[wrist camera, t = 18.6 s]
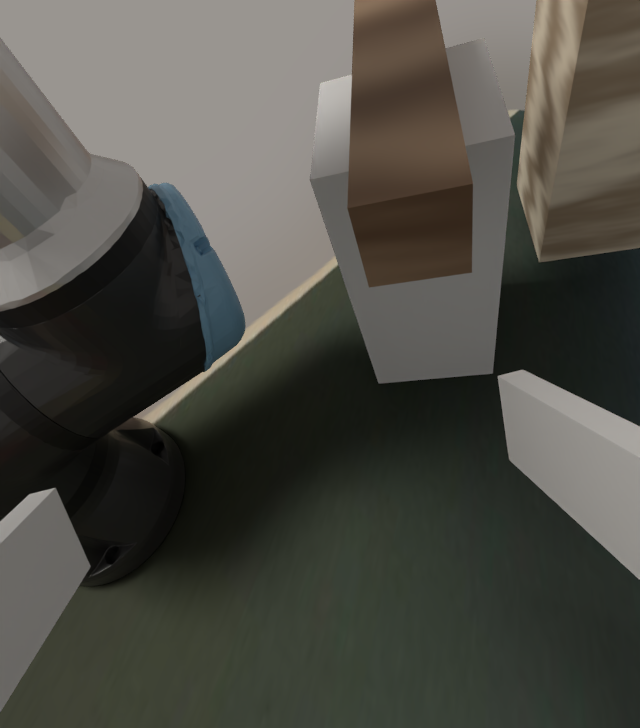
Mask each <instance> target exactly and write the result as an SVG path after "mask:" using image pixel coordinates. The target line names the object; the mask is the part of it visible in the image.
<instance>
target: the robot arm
mask: <svg viewBox="0 0 640 728" xmlns="http://www.w3.org/2000/svg"><path fill="white" fill-rule="evenodd" d="M244 331H245V318H244V313H243V310H242V307H241V305H240V302H239V300H238V297H237V295H236V292H235V290H234V288H233V286H232V284H231V281H230V279H229V277H228V275H227V273H226V271H225V269H224V267H223V265H222V263H221V261H220V260H219V258H218V256H217V254H216V252H215V251H214V250H213V248H212V247H211V246H210V243H209V240H208V238H207V237H206V235H205V233H204V231H203V229H202V226H201V225H200V223H199V221H198V219H197V218H196V216H195V215H194V213H193V211H192V210H191V208H190V206H189V205H188V203H187V202H186V200H185V199H184V197H183V196H182V195H181V193H180V192H179V191H178V190H177V189H176V188H175V187H174V186H173V185H171V184H169V183H162V184H160V185H158V184H153V185H150V186H149V187H147V186H146V185H145V183H144V182H143V180H142V179H141V177H140V176H139V174H138V173H137V172H136V171H135V169H134V168H133V167H132V166H130V165H129V164H127V163H125V162H122V161H118V160H113V159H110V158H105V157H101V156H97V155H93V154H90V153H89V152H88V151H87V150H86V149H85V148H84V146H83V145H82V144H81V142H80V141H79V140H78V139H77V137H76V136H75V135H74V133H73V132H72V131H71V129H70V128H69V127H68V125H67V124H66V123H65V122H64V120H63V119H62V118H61V116H60V115H59V114H58V112H57V111H56V110H55V108H54V107H53V106H52V105H51V103H50V102H49V101H48V99H47V98H46V97H45V95H44V94H43V93H42V92H41V90H40V89H39V88H38V86H37V85H36V84H35V82H34V81H33V80H32V78H31V77H30V76H29V75H28V73H27V72H26V71H25V69H24V68H23V67H22V65H21V64H20V63H19V61H18V60H17V59H16V58H15V56H14V55H13V54H12V52H11V51H10V50H9V48H8V47H7V46H6V45H5V43H4V42H3V41H2V39H1V38H0V712H1V710H2V708H3V707H4V705H5V704H6V702H7V700H8V699H9V697H10V696H11V694H12V692H13V691H14V689H15V688H16V686H17V684H18V683H19V681H20V680H21V678H22V676H23V675H24V673H25V672H26V670H27V668H28V667H29V665H30V663H31V662H32V660H33V659H34V657H35V655H36V654H37V652H38V651H39V649H40V647H41V646H42V644H43V643H44V641H45V639H46V638H47V636H48V635H49V633H50V631H51V630H52V628H53V627H54V625H55V623H56V622H57V620H58V618H59V617H60V615H61V614H62V612H63V610H64V609H65V607H66V606H67V604H68V602H69V601H70V599H71V598H72V596H73V594H74V593H75V591H76V590H77V588H78V586H79V585H81V586H98V585H103V584H107V583H110V582H113V581H115V580H118V579H120V578H122V577H124V576H126V575H127V574H129V573H130V572H132V571H133V570H135V569H136V568H137V567H139V566H140V565H141V564H142V563H143V562H145V561H146V560H147V559H148V558H149V557H150V556H151V555H152V554H153V553H154V551H155V550H156V549H157V548H158V547H159V545H160V544H161V543H162V541H163V540H164V539H165V537H166V536H167V534H168V532H169V531H170V529H171V527H172V525H173V523H174V521H175V519H176V517H177V514H178V512H179V509H180V506H181V503H182V499H183V494H184V488H185V467H184V461H183V458H182V454H181V452H180V450H179V448H178V446H177V444H176V443H175V442H174V440H173V439H172V438H171V437H170V436H169V435H167V434H166V433H165V432H163V431H162V430H161V429H159V428H158V427H156V426H155V425H153V424H152V423H150V422H147V421H145V420H142V419H139V418H134V417H133V416H135V415H137V414H138V413H140V412H141V411H143V410H144V409H146V408H147V407H149V406H151V405H152V404H154V403H155V402H157V401H158V400H160V399H161V398H163V397H164V396H166V395H167V394H169V393H171V392H172V391H174V390H175V389H177V388H178V387H180V386H181V385H183V384H184V383H186V382H188V381H189V380H191V379H192V378H194V377H195V376H197V375H198V374H200V373H201V372H205V371H207V370H208V369H209V368H210V367H211V365H212V363H214V362H215V361H216V360H217V359H219V358H220V357H221V356H223V355H224V354H225V353H227V352H228V351H229V350H231V349H232V348H233V347H235V346H236V345H237V344H238V343H239V341H240V340H241V338H242V336H243V334H244ZM498 383H499V390H500V398H501V405H502V412H503V420H504V427H505V434H506V441H507V449H508V456H509V460H510V461H511V462H512V463H513V464H514V465H515V466H516V467H517V468H519V469H520V470H521V471H522V472H523V473H524V474H525V475H526V476H527V477H528V478H529V479H531V480H532V481H533V482H534V483H535V484H536V485H537V486H538V487H539V488H540V489H541V490H542V491H544V492H545V493H546V494H547V495H548V496H549V497H550V498H551V499H552V500H553V501H554V502H556V503H557V504H558V505H559V506H560V507H561V508H562V509H563V510H564V511H565V512H566V513H567V514H569V515H570V516H571V517H572V518H573V519H574V520H575V521H576V522H577V523H578V524H579V525H581V526H582V527H583V528H584V529H585V530H586V531H587V532H588V533H589V534H590V535H591V536H592V537H594V538H595V539H596V540H597V541H598V542H599V543H600V544H601V545H602V546H603V547H604V548H606V549H607V550H608V551H609V552H610V553H611V554H612V555H613V556H614V557H615V558H616V559H617V560H619V561H620V562H621V563H622V564H623V565H624V566H625V567H626V568H627V569H628V570H629V571H631V572H632V573H633V574H634V575H635V576H636V577H637V578H638V579H639V580H640V426H638V425H636V424H634V423H632V422H630V421H628V420H625V419H623V418H621V417H619V416H617V415H615V414H613V413H611V412H609V411H607V410H605V409H603V408H601V407H599V406H597V405H595V404H593V403H591V402H588V401H586V400H584V399H582V398H580V397H578V396H576V395H574V394H572V393H570V392H568V391H566V390H564V389H562V388H560V387H558V386H556V385H554V384H552V383H549V382H547V381H545V380H543V379H541V378H539V377H537V376H535V375H533V374H531V373H529V372H527V371H525V370H519V371H515V372H511V373H507V374H503V375H499V376H498Z"/></svg>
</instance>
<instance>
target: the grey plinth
mask: <svg viewBox="0 0 640 728" xmlns="http://www.w3.org/2000/svg"><path fill="white" fill-rule="evenodd" d="M446 54H447V59H448V64H449V69H450V74H451V79H452V84H453V88H454V93H455V98H456V103H457V108H458V113H459V118H460V123H461V127H462V132H463V137H464V142H465V147H466V152H467V157H468V161H469V166H470V171H471V176H472V181H473V228H472V273H466V274H459V275H452V276H445V277H438V278H432V279H425V280H418V281H411V282H404V283H397V284H390V285H383V286H377V287H370V288H369V286H368V282H367V278H366V275H365V271H364V267H363V264H362V260H361V256H360V253H359V249H358V245H357V242H356V238H355V235H354V231H353V227H352V224H351V220H350V216H349V213H348V209H347V203H348V174H349V146H350V117H351V88H352V75H348V76H344V77H341V78H337V79H334V80H330V81H326V82H323V83H320V91H319V100H318V109H317V118H316V128H315V137H314V147H313V155H312V165H311V174H310V182H311V185H312V188H313V191H314V194H315V197H316V199H317V202H318V205H319V208H320V211H321V214H322V217H323V220H324V223H325V226H326V229H327V232H328V235H329V238H330V241H331V244H332V247H333V250H334V253H335V256H336V259H337V262H338V265H339V268H340V271H341V274H342V277H343V280H344V283H345V286H346V289H347V291H348V294H349V297H350V300H351V303H352V306H353V309H354V312H355V315H356V318H357V321H358V324H359V327H360V330H361V333H362V336H363V339H364V342H365V345H366V348H367V351H368V354H369V357H370V360H371V363H372V366H373V369H374V372H375V375H376V378H377V380H378V383H379V384H380V383H392V382H403V381H414V380H426V379H437V378H449V377H460V376H471V375H483V374H493V365H494V355H495V344H496V333H497V322H498V312H499V301H500V290H501V279H502V269H503V258H504V247H505V236H506V226H507V215H508V204H509V193H510V183H511V172H512V161H513V150H514V140H515V134H514V130H513V127H512V124H511V121H510V118H509V115H508V112H507V108H506V105H505V102H504V99H503V96H502V93H501V89H500V86H499V83H498V80H497V77H496V74H495V70H494V67H493V64H492V61H491V58H490V55H489V52H488V49H487V45H486V42H485V39H484V38H482V39H478V40H475V41H471V42H467V43H464V44H460V45H456V46H453V47H449V48H446Z"/></svg>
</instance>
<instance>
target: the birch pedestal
mask: <svg viewBox="0 0 640 728" xmlns="http://www.w3.org/2000/svg"><path fill="white" fill-rule="evenodd" d="M517 188H518V191H519V195H520V198H521V202H522V205H523V209H524V212H525V216H526V219H527V223H528V226H529V229H530V233H531V236H532V240H533V243H534V247H535V250H536V254H537V257H538V260H539V263H540V262H547V261H553V260H560V259H567V258H574V257H581V256H588V255H594V254H601V253H608V252H615V251H622V250H629V249H635V248H640V0H537V1H536V11H535V20H534V29H533V39H532V48H531V57H530V67H529V76H528V85H527V95H526V105H525V113H524V123H523V132H522V141H521V151H520V160H519V169H518V179H517Z"/></svg>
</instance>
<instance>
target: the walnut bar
mask: <svg viewBox="0 0 640 728" xmlns="http://www.w3.org/2000/svg"><path fill="white" fill-rule="evenodd" d="M353 33H354V34H353V61H352V62H353V63H352V88H351V117H350V146H349V174H348V203H347V209H348V213H349V216H350V220H351V224H352V227H353V231H354V235H355V238H356V242H357V245H358V249H359V253H360V256H361V260H362V264H363V267H364V271H365V275H366V278H367V282H368V286H369V288H370V287H377V286H383V285H390V284H397V283H404V282H411V281H418V280H425V279H432V278H438V277H445V276H452V275H459V274H466V273H472V228H473V181H472V176H471V171H470V166H469V161H468V157H467V152H466V147H465V142H464V137H463V132H462V127H461V123H460V118H459V113H458V108H457V103H456V98H455V93H454V88H453V84H452V79H451V74H450V69H449V64H448V59H447V54H446V49H445V45H444V40H443V35H442V30H441V25H440V20H439V16H438V10H437V6H436V1H435V0H355V3H354V32H353Z"/></svg>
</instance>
